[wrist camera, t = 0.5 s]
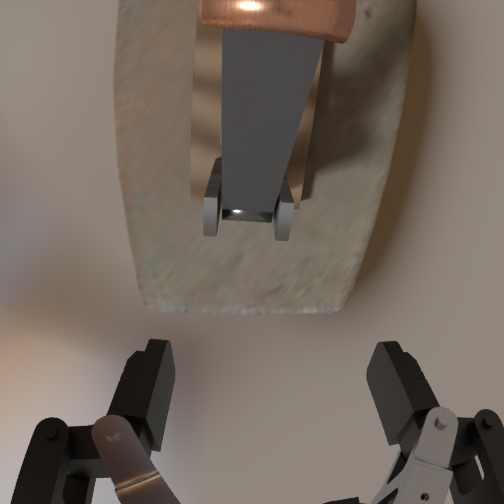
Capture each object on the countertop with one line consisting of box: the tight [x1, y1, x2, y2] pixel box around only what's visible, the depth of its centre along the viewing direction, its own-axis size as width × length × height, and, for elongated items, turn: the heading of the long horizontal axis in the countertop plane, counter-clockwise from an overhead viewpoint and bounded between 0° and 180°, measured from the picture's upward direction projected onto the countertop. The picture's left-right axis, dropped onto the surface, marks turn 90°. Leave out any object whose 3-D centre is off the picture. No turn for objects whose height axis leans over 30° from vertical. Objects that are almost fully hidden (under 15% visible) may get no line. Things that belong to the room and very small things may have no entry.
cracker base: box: [191, 0, 323, 241], centre depth 27 cm, size 30×14×13 cm, turn 175°
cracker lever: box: [202, 0, 356, 223], centre depth 21 cm, size 24×6×6 cm
